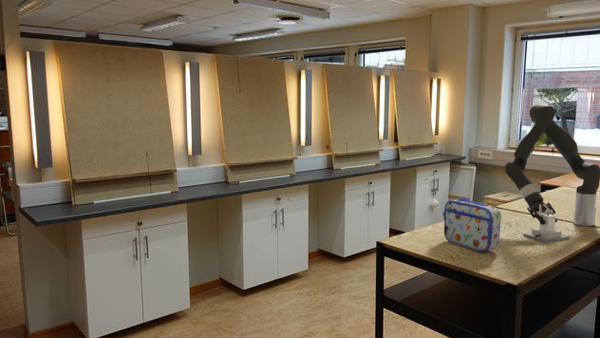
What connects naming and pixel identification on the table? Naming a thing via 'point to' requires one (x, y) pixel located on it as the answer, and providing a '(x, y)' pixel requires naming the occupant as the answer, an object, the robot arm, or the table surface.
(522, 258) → the table surface
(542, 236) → the charging dock
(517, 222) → the table surface
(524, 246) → the table surface
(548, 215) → the block
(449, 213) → the lunch box
